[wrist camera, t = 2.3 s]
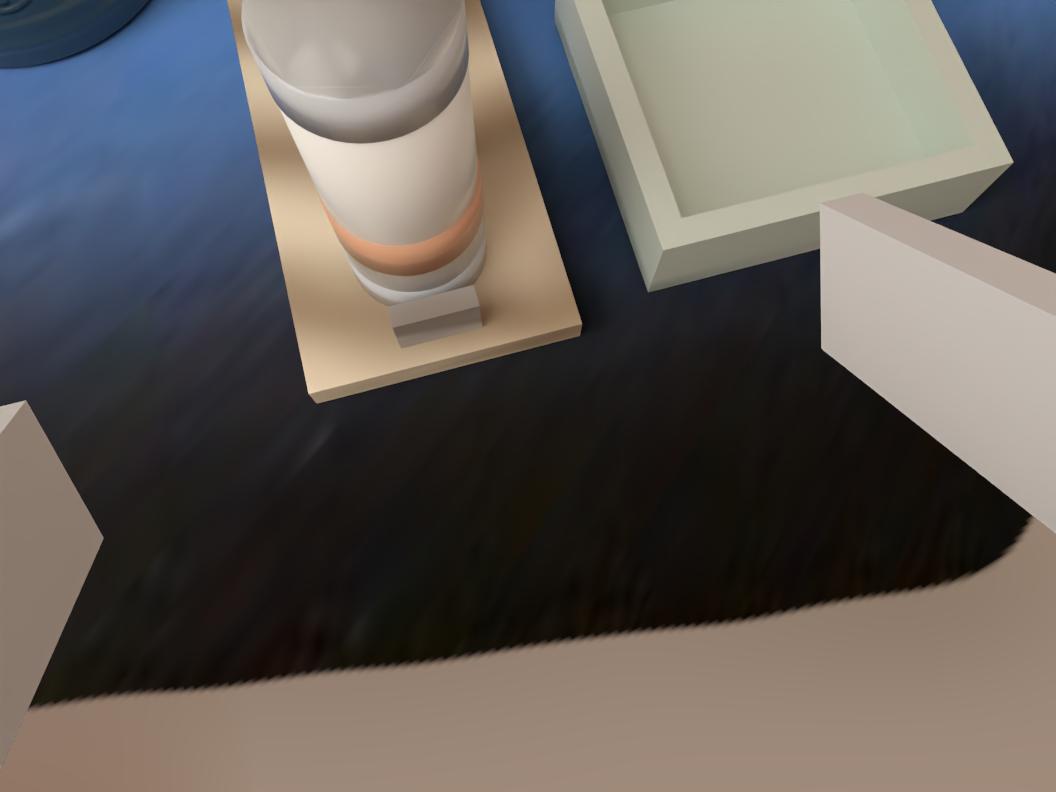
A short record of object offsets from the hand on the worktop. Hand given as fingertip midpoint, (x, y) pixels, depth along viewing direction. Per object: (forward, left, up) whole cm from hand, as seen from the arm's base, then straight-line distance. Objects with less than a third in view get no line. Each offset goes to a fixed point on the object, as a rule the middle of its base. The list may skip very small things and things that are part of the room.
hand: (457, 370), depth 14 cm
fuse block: (-15, 0, -16) cm, 22 cm away
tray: (-13, +14, -16) cm, 25 cm away
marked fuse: (-10, 0, -14) cm, 18 cm away
